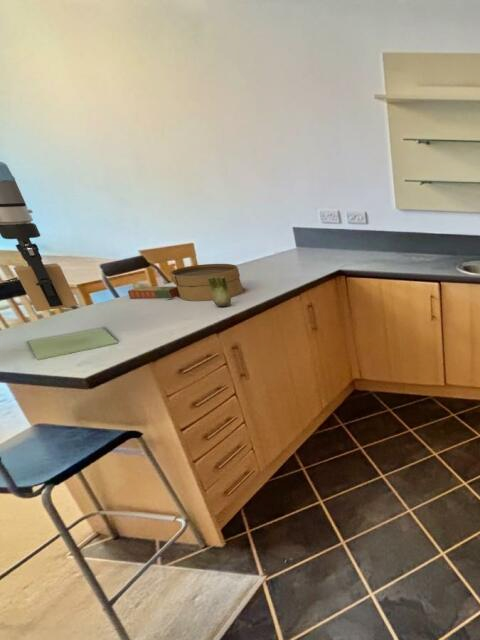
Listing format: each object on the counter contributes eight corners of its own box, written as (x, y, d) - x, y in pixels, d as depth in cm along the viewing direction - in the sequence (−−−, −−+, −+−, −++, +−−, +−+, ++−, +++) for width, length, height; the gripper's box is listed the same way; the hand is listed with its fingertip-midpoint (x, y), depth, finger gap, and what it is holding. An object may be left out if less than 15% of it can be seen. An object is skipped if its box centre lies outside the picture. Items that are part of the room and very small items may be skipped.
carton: (143, 295, 184) (139, 286, 182) (182, 295, 186) (179, 285, 184) (130, 300, 176) (126, 290, 175) (171, 299, 179) (168, 289, 177)
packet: (34, 307, 125) (13, 267, 120) (74, 301, 131) (56, 263, 126) (36, 311, 122) (15, 270, 116) (78, 305, 128) (59, 265, 123)
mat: (29, 343, 131) (28, 341, 131) (104, 329, 144) (103, 328, 144) (37, 360, 120) (36, 358, 120) (118, 343, 133) (117, 341, 132)
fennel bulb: (234, 305, 173) (226, 276, 168) (226, 308, 169) (217, 278, 164) (221, 304, 174) (213, 275, 169) (212, 307, 170) (203, 278, 164)
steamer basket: (174, 304, 173) (165, 276, 168) (183, 290, 193) (174, 265, 187) (243, 297, 184) (236, 271, 179) (244, 285, 203) (238, 262, 198)
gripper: (38, 224, 113) (77, 307, 123) (30, 219, 124) (66, 296, 134) (-3, 226, 108) (41, 312, 118) (-8, 221, 118) (33, 300, 129)
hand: (54, 303), depth 126 cm, fingers closed on packet, 6 cm apart
